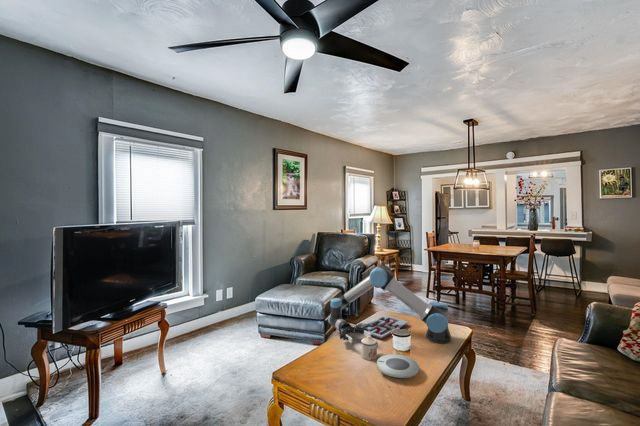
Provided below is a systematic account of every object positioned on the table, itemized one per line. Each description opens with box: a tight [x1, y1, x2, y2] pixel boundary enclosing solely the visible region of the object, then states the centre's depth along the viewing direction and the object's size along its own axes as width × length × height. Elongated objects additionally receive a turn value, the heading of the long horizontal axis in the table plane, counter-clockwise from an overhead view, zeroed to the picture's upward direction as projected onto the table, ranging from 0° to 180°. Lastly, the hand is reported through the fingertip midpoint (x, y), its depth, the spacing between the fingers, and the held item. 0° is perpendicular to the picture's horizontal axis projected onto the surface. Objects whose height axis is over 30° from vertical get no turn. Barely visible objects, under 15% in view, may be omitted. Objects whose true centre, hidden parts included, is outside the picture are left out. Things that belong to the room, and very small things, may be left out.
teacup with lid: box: [360, 336, 379, 361], centre depth 177 cm, size 12×9×12 cm
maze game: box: [360, 315, 409, 340], centre depth 216 cm, size 35×20×3 cm, turn 136°
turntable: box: [376, 353, 420, 379], centre depth 159 cm, size 21×21×2 cm
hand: (361, 338), depth 185 cm, fingers open, 13 cm apart
